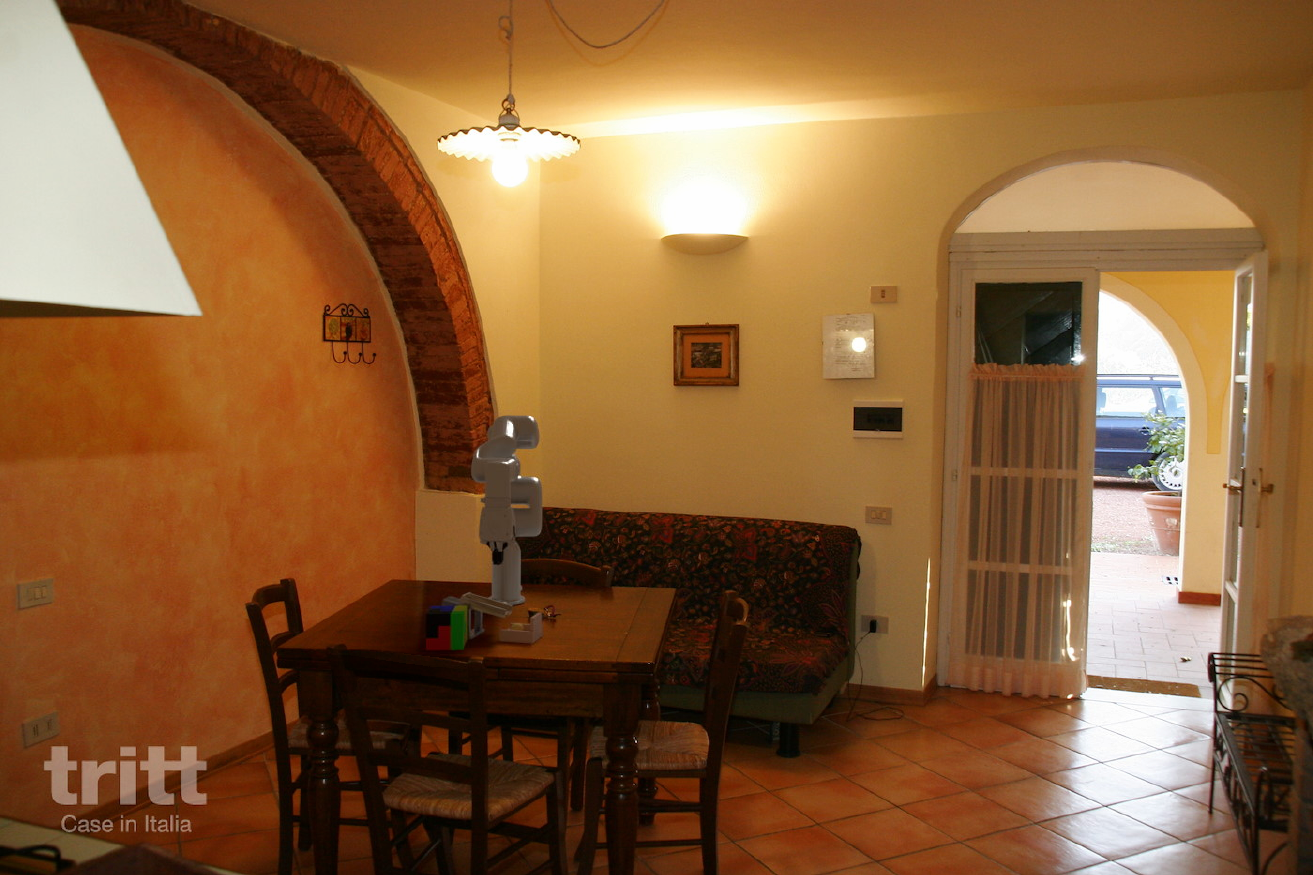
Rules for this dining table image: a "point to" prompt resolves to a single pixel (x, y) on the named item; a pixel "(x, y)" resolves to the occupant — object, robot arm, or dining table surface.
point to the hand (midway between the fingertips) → (497, 563)
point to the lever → (481, 604)
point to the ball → (517, 627)
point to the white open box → (524, 631)
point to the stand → (477, 622)
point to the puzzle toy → (446, 628)
